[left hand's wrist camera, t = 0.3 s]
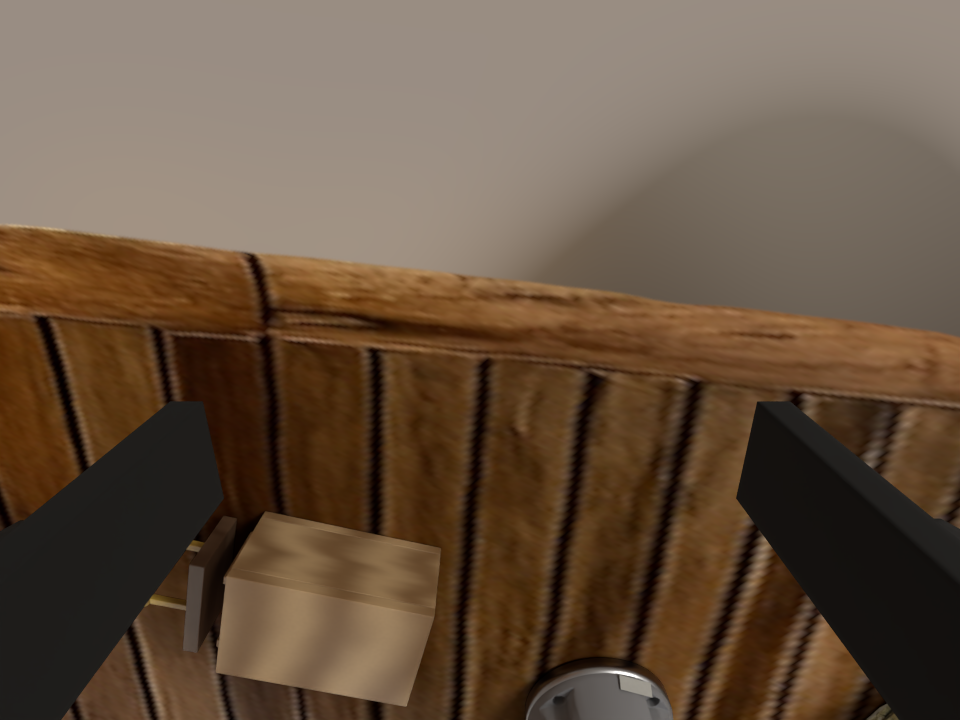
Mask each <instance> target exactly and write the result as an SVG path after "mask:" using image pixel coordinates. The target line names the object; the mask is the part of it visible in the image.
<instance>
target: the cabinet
mask: <svg viewBox="0 0 960 720" xmlns="http://www.w3.org/2000/svg"><path fill="white" fill-rule="evenodd" d="M440 554H441V548H438V547H433V546H429V545H424V544H419V543H414V542H410V541H405V540H400V539H395V538H391V537H386V536H381V535H376V534H372V533H367V532H362V531H357V530H352V529H348V528H343V527H338V526H333V525H329V524H324V523H319V522H314V521H310V520H305V519H300V518H295V517H291V516H286V515H281V514H276V513H272V512H267V511H265V512H264V514H263V516H262V517H261V519H260V520H259V522H258V524H257V525H256V527H255V529H254V531H253V532H252V534H251V536H250V537H249V539H248V541H247V542H246V544H245V546H244V547H243V549H242V551H241V552H240V554H239V556H238V557H237V559H236V561H235V562H234V564H233V566H232V567H231V569H230V571H229V573H228V574H227V576H226V583H225V592H224V601H223V610H222V620H221V629H220V638H219V647H218V656H217V665H216V673H222V674H227V675H233V676H238V677H244V678H249V679H255V680H261V681H266V682H272V683H277V684H283V685H288V686H294V687H300V688H305V689H311V690H316V691H322V692H327V693H333V694H339V695H344V696H350V697H355V698H361V699H366V700H372V701H378V702H383V703H389V704H394V705H400V706H405V707H406V706H407V703H408V700H409V697H410V693H411V690H412V687H413V684H414V681H415V677H416V674H417V671H418V668H419V665H420V661H421V658H422V655H423V652H424V649H425V645H426V642H427V639H428V636H429V633H430V629H431V626H432V623H433V620H434V615H435V605H436V595H437V585H438V575H439V564H440Z"/></svg>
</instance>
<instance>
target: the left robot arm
mask: <svg viewBox="0 0 960 720" xmlns="http://www.w3.org/2000/svg"><path fill="white" fill-rule="evenodd" d="M223 499H224V497H223V492H222V488H221V483H220V479H219V474H218V469H217V465H216V460H215V456H214V451H213V446H212V442H211V437H210V433H209V428H208V424H207V419H206V414H205V410H204V405H203V402H169V403H168V404H167V405H166V406H164V407H163V408H162V409H161V410H159V411H158V412H157V413H156V414H154V415H153V416H152V417H151V418H150V419H148V420H147V421H146V422H145V423H143V424H142V425H141V426H140V427H138V428H137V429H136V430H135V431H134V432H132V433H131V434H130V435H129V436H127V437H126V438H125V439H124V440H122V441H121V442H120V443H119V444H118V445H116V446H115V447H114V448H113V449H111V450H110V451H109V452H108V453H106V454H105V455H104V456H103V457H102V458H100V459H99V460H98V461H97V462H95V463H94V464H93V465H92V466H91V467H89V468H88V469H87V470H86V471H84V472H83V473H82V474H81V475H79V476H78V477H77V478H76V479H75V480H73V481H72V482H71V483H70V484H68V485H67V486H66V487H65V488H63V489H62V490H61V491H60V492H59V493H57V494H56V495H55V496H54V497H52V498H51V499H50V500H49V501H47V502H46V503H45V504H44V505H43V506H41V507H40V508H39V509H38V510H36V511H35V512H34V513H33V514H32V515H30V516H29V517H28V518H27V519H25V520H24V521H18V522H17V523H15V524H13V525H11V526H9V527H7V528H5V529H4V530H2V531H0V720H61V719H62V718H63V716H64V715H65V714H66V712H67V711H68V710H69V708H70V707H71V706H72V704H73V703H74V702H75V700H76V699H77V697H78V696H79V695H80V693H81V692H82V691H83V689H84V688H85V687H86V685H87V684H88V682H89V681H90V680H91V678H92V677H93V676H94V674H95V673H96V672H97V670H98V669H99V668H100V666H101V665H102V663H103V662H104V661H105V659H106V658H107V657H108V655H109V654H110V653H111V651H112V650H113V648H114V647H115V646H116V644H117V643H118V642H119V640H120V639H121V638H122V636H123V635H124V633H125V632H126V631H127V629H128V628H129V627H130V625H131V624H132V623H133V621H134V620H135V619H136V617H137V616H138V614H139V613H140V612H141V610H142V609H143V608H144V606H145V605H146V604H147V602H148V601H149V599H150V598H151V597H152V595H153V594H154V593H155V591H156V590H157V589H158V587H159V586H160V584H161V583H162V582H163V580H164V579H165V578H166V576H167V575H168V574H169V572H170V571H171V570H172V568H173V567H174V565H175V564H176V563H177V561H178V560H179V559H180V557H181V556H182V555H183V553H184V552H185V550H186V549H187V548H188V546H189V545H190V544H191V542H192V541H193V540H194V538H195V537H196V535H197V534H198V533H199V531H200V530H201V529H202V527H203V526H204V525H205V523H206V522H207V521H208V519H209V518H210V516H211V515H212V514H213V512H214V511H215V510H216V508H217V507H218V506H219V504H220V503H221V501H222V500H223ZM736 499H737V500H738V501H739V503H740V504H741V506H742V507H743V508H744V510H745V511H746V512H747V514H748V515H749V516H750V518H751V519H752V521H753V522H754V523H755V525H756V526H757V527H758V529H759V530H760V531H761V533H762V534H763V535H764V537H765V538H766V540H767V541H768V542H769V544H770V545H771V546H772V548H773V549H774V550H775V552H776V553H777V555H778V556H779V557H780V559H781V560H782V561H783V563H784V564H785V565H786V567H787V568H788V570H789V571H790V572H791V574H792V575H793V576H794V578H795V579H796V580H797V582H798V583H799V584H800V586H801V587H802V589H803V590H804V591H805V593H806V594H807V595H808V597H809V598H810V599H811V601H812V602H813V604H814V605H815V606H816V608H817V609H818V610H819V612H820V613H821V614H822V616H823V617H824V619H825V620H826V621H827V623H828V624H829V625H830V627H831V628H832V629H833V631H834V632H835V633H836V635H837V636H838V638H839V639H840V640H841V642H842V643H843V644H844V646H845V647H846V648H847V650H848V651H849V653H850V654H851V655H852V657H853V658H854V659H855V661H856V662H857V663H858V665H859V666H860V668H861V669H862V670H863V672H864V673H865V674H866V676H867V677H868V678H869V680H870V681H871V682H872V684H873V685H874V687H875V688H876V689H877V691H878V692H879V693H880V695H881V696H882V697H883V699H884V700H885V702H886V703H887V704H888V706H889V707H890V708H891V710H892V711H893V712H894V714H895V715H896V716H897V718H898V719H899V720H960V529H959V528H957V527H955V526H953V525H951V524H950V523H948V522H946V521H944V520H942V519H933V518H932V517H931V516H930V515H928V514H927V513H926V512H925V511H924V510H922V509H921V508H920V507H919V506H917V505H916V504H915V503H914V502H913V501H911V500H910V499H909V498H908V497H906V496H905V495H904V494H903V493H901V492H900V491H899V490H898V489H897V488H895V487H894V486H893V485H892V484H890V483H889V482H888V481H887V480H885V479H884V478H883V477H882V476H881V475H879V474H878V473H877V472H876V471H874V470H873V469H872V468H871V467H869V466H868V465H867V464H866V463H865V462H863V461H862V460H861V459H860V458H858V457H857V456H856V455H855V454H854V453H852V452H851V451H850V450H849V449H847V448H846V447H845V446H844V445H842V444H841V443H840V442H839V441H838V440H836V439H835V438H834V437H833V436H831V435H830V434H829V433H828V432H826V431H825V430H824V429H823V428H822V427H820V426H819V425H818V424H817V423H815V422H814V421H813V420H812V419H810V418H809V417H808V416H807V415H806V414H804V413H803V412H802V411H801V410H799V409H798V408H797V407H796V406H794V405H793V404H792V403H791V402H757V405H756V410H755V414H754V419H753V424H752V428H751V433H750V437H749V442H748V446H747V451H746V456H745V460H744V465H743V469H742V474H741V479H740V483H739V488H738V492H737V497H736ZM525 719H526V720H673V713H672V708H671V705H670V702H669V699H668V696H667V693H666V691H665V688H664V686H663V685H662V683H661V682H660V680H659V679H658V678H657V677H656V676H655V675H654V674H653V673H651V672H650V671H649V670H647V669H645V668H644V667H642V666H640V665H638V664H635V663H632V662H629V661H626V660H621V659H615V658H589V659H583V660H578V661H574V662H571V663H568V664H565V665H563V666H560V667H558V668H556V669H554V670H553V671H551V672H549V673H548V674H546V675H545V676H544V677H542V678H541V679H540V680H539V681H538V682H537V683H536V684H535V686H534V687H533V688H532V690H531V691H530V693H529V695H528V697H527V700H526V704H525Z"/></svg>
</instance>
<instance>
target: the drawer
mask: <svg viewBox="0 0 960 720" xmlns="http://www.w3.org/2000/svg"><path fill="white" fill-rule="evenodd" d="M236 523H237V518H232V517H228V516H223V517H222V519H221V520H220V522H219V523H218V524H217V526H216V527H215V529H214V530H213V532H212V533H211V534H210V536H209V537H208V539H207V540H206V542H205V543H204V542H199V541H194V540H193V541H192V542H191V544H190V545H189V546H188V548H187V549H186V550H191V551H196V552H198V553H197V554H196V556H195V557H194V559H193V560H192V562H191V563H190V564H189V575H188V588H187V600H183V599H177V598H172V597H167V596H162V595H157V594H153V595H152V597H151V598H150V599H149V601H148V602H147V604H146V605H145V606H144V607H146V606H148V605H149V604H154V605H160V606H165V607H170V608H175V609H181V610H186V614H185V627H184V641H183V650H185V651H190V652H196V653H197V652H198V650H199V648H200V646H201V645H202V643H203V641H204V639H205V638H206V636H207V634H208V632H209V630H210V629H211V627H212V625H213V623H214V622H215V620H216V618H217V616H218V614H219V613H220V611H221V609H222V607H223V601H224V592H225V583H226V576H227V574H228V573H229V571H230V569H231V567H232V566H233V564H234V562H235V561H236V559H237V557H238V556H239V554H240V552H241V551H242V549H243V547H244V546H245V544H246V542H247V541H248V539H249V537H250V536H251V534H252V532H250V534H249V536H248V537H247V539H246V541H245V542H244V544H243V546H242V547H241V549H240V551H239V552H238V554H237V556H236V557H235V559H234V561H233V562H232V558H233V550H234V541H235V532H236ZM219 638H220V636H219V637H218V639H217V647H219Z"/></svg>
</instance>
